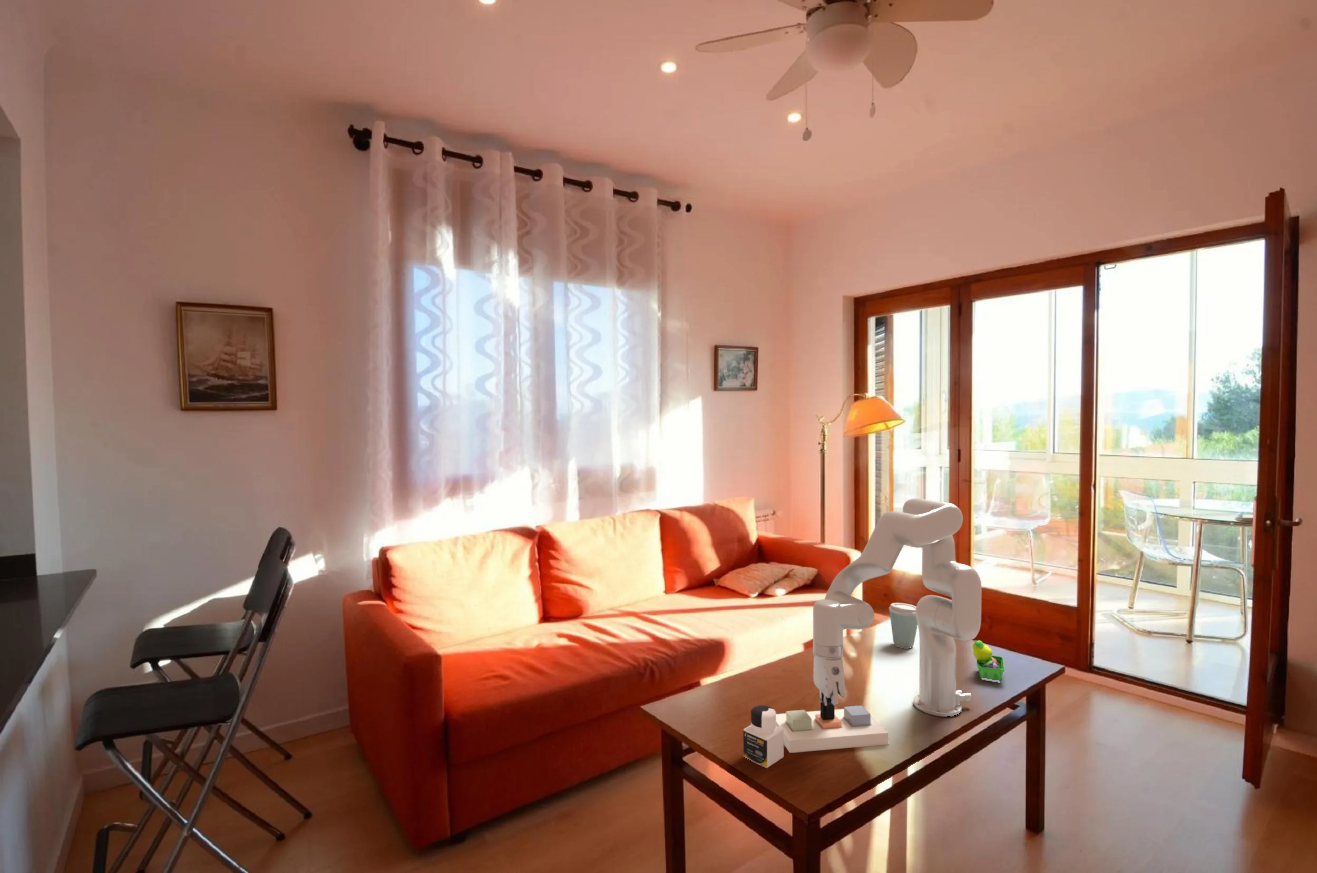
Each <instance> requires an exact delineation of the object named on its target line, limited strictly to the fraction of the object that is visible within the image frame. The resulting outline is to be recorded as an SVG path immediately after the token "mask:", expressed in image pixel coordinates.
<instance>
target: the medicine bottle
mask: <svg viewBox="0 0 1317 873" xmlns="http://www.w3.org/2000/svg"><path fill="white" fill-rule="evenodd" d="M776 714H777V711H776V710H775V709H774V708H773V707H772V706H767V705H756V706H754V707H752V708H751V709H750V725H747V727H744V728H743V731H742V732H743V735H742V736H743V737H742V738H743V740H742V743H743V745H742V746H743V754H742V755H743V758H744V757H745V759H746V758H747V760H748V759H749V760H748V761H750V760H751V762H753V763H755V764H756V765H759V766H761V767H764V768H766V769H768V768H769V767H771V766H773V765H774V764H775V763H777V762H779V761H780V760H781V759H783V758H784V757H785V756H784V753H785V751H784V750H785V749H784V748H785V745H784V730H783V729H782V728H780V727H777V726H776Z"/></svg>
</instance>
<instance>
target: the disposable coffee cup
mask: <svg viewBox="0 0 1317 873" xmlns="http://www.w3.org/2000/svg"><path fill="white" fill-rule="evenodd" d="M916 606H917V605H916ZM916 606H915V605H913V604H909V603H903V602H893V603H891V604H890V606H889V607H888V611H889V617H890V625H891V633H892V642H893V644H894V646H895V647H897V648H898V647H901V648H900V649H902V648H910V647H912V648H913V647H914V644H915V641H916V640H915V639H916V634H917V631H918V630H917V629H918V623H917V618H916Z"/></svg>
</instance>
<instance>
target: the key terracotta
mask: <svg viewBox="0 0 1317 873" xmlns="http://www.w3.org/2000/svg"><path fill="white" fill-rule="evenodd" d="M815 721H816V722H817V724H818V725H819V726H820V727H821V729H833V728H841V721H840V720H839V719H838V718H837V717H836V716H835V718H834V719H832V720H823V719H822V718H821V717H820V714H815Z"/></svg>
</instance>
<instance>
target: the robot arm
mask: <svg viewBox="0 0 1317 873" xmlns="http://www.w3.org/2000/svg"><path fill="white" fill-rule="evenodd" d="M963 522H964V516H963V513H962V510H961V509H960V508H959V507H958V506H957V505H955V504H953V503H951V502H946V501H945V502H943V501H937V500H931V499H926V498H911V499H908V500H906V501H905V502H904V504H903V506H902V512H900V511H895V510H894V511H893V510H891V511H887V512H884V513H883V514H882V515H881V516H880V518H879V519H878V521H877V523H876V525H875V527H874V528H873V531H872V532H871V535H870V537H869V539H868V541H867V543H866V545H865V547H864V549H863V550H862V553H861V554H860V556H859V557H858V558H857V559H855V560H853V561H851V562H850V563H849V564H848V565H847V566H845V567H844V568H843V569H841V571H840V572H838V573H837V574H836V576H835V577H834V578H833V580H832V582H831V583H830V586H829V588H828V589H827V591H826V594H825V595H824V599H818V600H816V601H815V602H814V603H813V607H812V655H813V669H812V670H813V671H812V672H813V676H812V677H813V678H812V679H813V683H814V685H815V687H816V688H817V689H818V690H819V700H820V709H819V711H820V717H821V718H822V719H823V720H832V719H834V718H835V710H836V709H835V705H838V704H839V697H841V698H843V697H845V695H846V689H845V688H846V686H845V684H846V683H845V682H846V681H845V670H844V668H845V667H844V663H843V655H844V653H843V652H844V630H864V629H867V628H868V627H870V626H871V625H872V624H873V622H874V619H875V611H874V609H873V607H872V606H871V605H870V603H867V602H866V601H865V600H863V599H859V598H857V597H855V596H852V594H853V592H854V590H856V588H857V587H858V586H859V585H860V584H862V583H863V582H865V581H868V580H870V579H874V578H878V577H882V576H885V575H888V574H890V573H891V572H892V570H893V568H894V566H895V563H896V562H897V560H898V558H899V556H900V554H901V551H902V549H903V548H904V546H908V547H911V548H917V549H919V548H922V549H921V552H922V553H921V554H922V555H921V556H922V559H921V578H922V584H923V586H925V588H926V589H928V590H930V591H932V592H935V593H937V594H940V595H944V596H947V597H950V598H951V599H950V598H947V597H943V596H939V595H934V594H929V595H928V594H927V595H925V596H922V597H921V598H920V599H919V600H918V602H917V604H916V618H917V623H918V625H917V629H918V632H919V633H918V637H919V680H918V681H919V684H918V685H919V692H918V693H919V694H917V695H916V696H914V697H913V706H915V708H916V709H918V710H919V711H921V712H924V713H925V714H929V715H931V716H935V717H943V718H944V717H947V716H950V717H955V716H954V715H956V716H958V715H960V714H961V713H962V712H963V710H962V709H963V706H962V705H961V702H963V701H966V702H967V701H972V700H973V696H972V694H971V693H970V692H965V693H963V691H962V690H956V689H957V645H956V641H955V639H956V640H960V641H966V642H968V641H972V640H973V639H976V637H977V635H978V634H979V632H980V629H981V624H982V592H983V591H982V590H983V588H982V581H981V577H980V575H979V573H978V572H977V571H976V570H975V569H974V568H973V567H971V566H969V565H966V564H963V563H960V562H957V560H956V547H955V546H956V545H955V544H956V543H955V539H954V536H953V535H954V534H956V533H957V532H959V531H960V529H961V528H962V525H963ZM838 695H839V696H838ZM960 712H961V713H960ZM959 713H960V714H959ZM957 714H958V715H957Z"/></svg>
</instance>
